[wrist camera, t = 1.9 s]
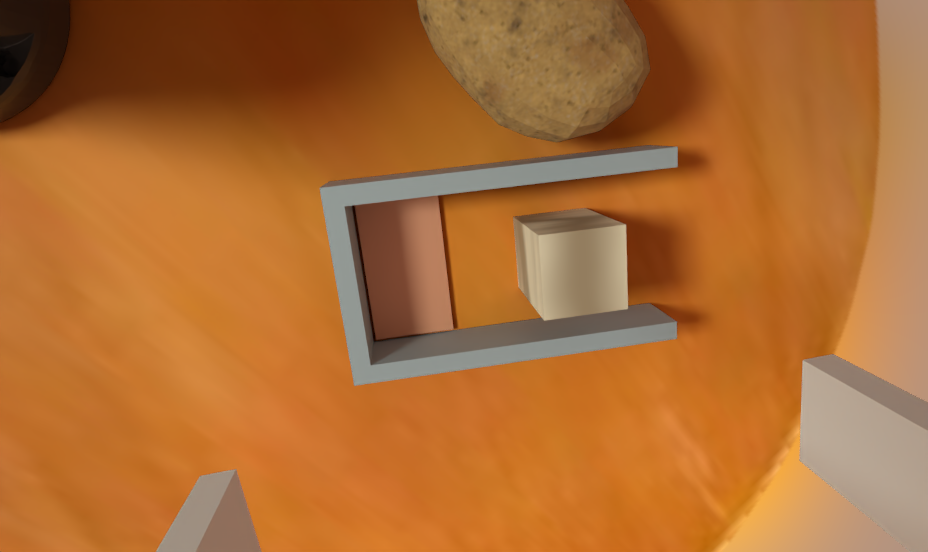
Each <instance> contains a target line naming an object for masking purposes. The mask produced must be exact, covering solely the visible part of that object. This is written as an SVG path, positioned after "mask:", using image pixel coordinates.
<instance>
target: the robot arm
mask: <svg viewBox="0 0 928 552" xmlns="http://www.w3.org/2000/svg"><path fill="white" fill-rule="evenodd" d="M69 25H70V6H69V0H0V122H2V121H4V120H7V119H9V118H11V117H13V116H15V115H16V114H18V113H19V112H21V111H23V110H24V109H25V108H27V107H28V106H29V105H31V104H32V103H33V102H34V101H35V100H36V99H37V98H38V97H39V96H40V95H41V94H42V93H43V92H44V91H45V89H46V88H47V87H48V85H49V84H50V83H51V81H52V79H53V78H54V76H55V74H56V72H57V71H58V69H59V66H60V64H61V62H62V59H63V56H64V53H65V50H66V45H67V41H68V35H69ZM800 461H801V462H802V463H803V464H804V465H805V466H807V467H808V468H809V469H810V470H812V471H813V472H814V473H815V474H817V475H818V476H819V477H820V478H821V479H822V480H824V481H825V482H826V483H827V484H829V485H830V486H831V487H832V488H833V489H835V490H836V491H837V492H838V493H839V494H841V495H842V496H843V497H844V498H846V499H847V500H848V501H849V502H850V503H852V504H853V505H854V506H855V507H857V508H858V509H859V510H860V511H861V512H863V513H864V514H865V515H866V516H867V517H869V518H870V519H871V520H872V521H873V522H875V523H876V524H877V525H878V526H880V527H881V528H882V529H883V530H884V531H886V532H887V533H888V534H889V535H891V536H892V537H893V538H894V539H895V540H897V541H898V542H899V543H900V544H901V545H903V546H904V547H905V548H906V549H907V550H909V551H910V552H928V403H927V402H926V401H924V400H922V399H920V398H918V397H916V396H914V395H912V394H910V393H908V392H906V391H904V390H902V389H900V388H898V387H896V386H894V385H892V384H890V383H889V382H887V381H884V380H882V379H881V378H879V377H877V376H875V375H873V374H871V373H869V372H867V371H865V370H863V369H861V368H859V367H857V366H855V365H853V364H851V363H850V362H848V361H846V360H844V359H842V358H840V357H838V356H836V355H834V354H831V355H826V356H821V357H816V358H811V359H805V360H803V368H802V399H801V430H800ZM156 552H261V549H260V546H259V542H258V539H257V536H256V533H255V529H254V526H253V523H252V520H251V516H250V513H249V510H248V507H247V503H246V500H245V497H244V493H243V490H242V487H241V484H240V480H239V477H238V474H237V471H236V469H234V470H229V471H224V472H219V473H213V474H208V475H203V476H200V477H199V479H198V481H197V482H196V484H195V486H194V487H193V489H192V491H191V493H190V494H189V496H188V498H187V499H186V501H185V503H184V505H183V506H182V508H181V510H180V511H179V513H178V515H177V517H176V518H175V520H174V522H173V523H172V525H171V527H170V529H169V530H168V532H167V534H166V535H165V537H164V539H163V541H162V542H161V544H160V546H159V547H158V549H157V551H156Z"/></svg>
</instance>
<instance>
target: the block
mask: <svg viewBox="0 0 928 552" xmlns="http://www.w3.org/2000/svg"><path fill="white" fill-rule="evenodd" d="M513 221H514V234H515V247H516V259H517V272H518V284H519V288H520V290H521V291H522V292H523V293H524V295H525V296H526V297H527V299H528V300H529V301H530V303H531V304H532V305H533V307H534V308H535V309H536V311H537V312H538V313H539V314H540V316H541V317H542V318H543V320H544V321H545V320H553V319H560V318H567V317H574V316H581V315H589V314H596V313H603V312H610V311H617V310H624V309H628V286H627V242H626V224H624V223H621V222H619V221H616V220H614V219H611V218H609V217H606V216H604V215H601V214H599V213H596V212H594V211H591V210H589V209H586V208H580V209H572V210H564V211H556V212H547V213H539V214H531V215H523V216H515V217H513Z"/></svg>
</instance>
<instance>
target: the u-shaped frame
mask: <svg viewBox="0 0 928 552" xmlns="http://www.w3.org/2000/svg"><path fill="white" fill-rule="evenodd" d="M674 167H678V147H673V146H653V145H646V146H637V147H628V148H619V149H611V150H602V151H593V152H584V153H576V154H567V155H558V156H549V157H541V158H532V159H523V160H514V161H505V162H497V163H488V164H479V165H470V166H462V167H453V168H444V169H435V170H427V171H418V172H409V173H400V174H392V175H383V176H374V177H365V178H357V179H348V180H339V181H330V182H328V183H326V184H325V185H323V186H322V187H320V193H321V199H322V204H323V210H324V216H325V221H326V227H327V233H328V238H329V244H330V250H331V256H332V261H333V267H334V273H335V278H336V284H337V290H338V295H339V301H340V307H341V312H342V318H343V324H344V329H345V335H346V341H347V346H348V352H349V358H350V364H351V369H352V375H353V381H354V386H355V385H362V384H369V383H376V382H383V381H390V380H396V379H403V378H410V377H417V376H424V375H431V374H438V373H444V372H451V371H458V370H465V369H472V368H479V367H486V366H493V365H499V364H506V363H513V362H520V361H527V360H534V359H541V358H547V357H554V356H561V355H568V354H575V353H582V352H589V351H595V350H602V349H609V348H616V347H623V346H630V345H637V344H643V343H650V342H657V341H664V340H671V339H677V321H675V320H674V319H672V318H671V317H669V316H668V315H666V314H665V313H663V312H662V311H661V310H659V309H658V308H656V307H655V306H653V305H652V304H650V303H646V304H639V305H631V306H628V309H624V310H617V311H610V312H603V313H596V314H589V315H581V316H574V317H567V318H560V319H553V320H545V321H544V320H543V318H538V319H531V320H524V321H517V322H509V323H502V324H495V325H488V326H481V327H474V328H466V329H459V330H452V331H445V332H438V333H431V334H423V335H416V336H409V337H402V338H395V339H387V338H394V337H401V336H408V335H415V334H422V333H430V332H437V331H444V330H451V329H453V320H452V312H451V303H450V295H449V286H448V278H447V269H446V260H445V252H444V243H443V235H442V226H441V218H440V209H439V200H438V195H445V194H454V193H462V192H471V191H479V190H488V189H496V188H505V187H513V186H522V185H530V184H538V183H547V182H555V181H564V180H572V179H581V178H589V177H598V176H606V175H615V174H623V173H631V172H640V171H648V170H657V169H665V168H674ZM352 205H355V211H356V217H357V224H358V230H359V236H360V242H361V249H362V255H363V261H364V268H365V274H366V280H367V286H368V293H369V299H370V305H371V311H372V318H373V324H374V330H375V336H376V340H379V339H387V340H380V341H374V339H373V333H372V327H371V321H370V315H369V308H368V302H367V296H366V290H365V284H364V277H363V271H362V265H361V259H360V253H359V246H358V240H357V234H356V228H355V222H354V215H353V209H352Z"/></svg>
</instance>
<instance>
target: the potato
mask: <svg viewBox="0 0 928 552" xmlns="http://www.w3.org/2000/svg"><path fill="white" fill-rule="evenodd" d="M417 4H418V9H419V15H420V20H421V22H422V24H423V27H424V29H425V31H426V33H427V36H428V38H429V40H430V42H431V45H432V47H433V49H434V51H435V53H436V54H437V56H438V57H439V58H440V60H441V61H442V62H443V64H444V65H445V66H446V68H447V69H448V71H449V72H450V73H451V75H452V76H453V77H454V78H455V79H456V80H457V82H458V83H459V84H460V85H461V86H462V87H463V88H464V89H465V91H466V92H467V93H468V94H469V95H470V96H471V97H472V98H473V99H474V100H475V101H476V102H477V103H478V104H479V105H480V106H481V107H482V108H483V109H484V110H485V111H486V112H487V113H488V114H489V115H490V116H491V117H492V118H493V119H494V120H495V121H496V122H497V123H498V124H499V125H501V126H504V127H506V128H508V129H511V130H513V131H515V132H518V133H520V134H523V135H525V136H528V137H533V138H538V139H543V140H548V141H553V142H560V141H564V140H568V139H571V138H575V137H579V136H582V135H586V134H590V133H594V132H597V131H600V130H601V129H603V128H604V127H605V126H607V125H608V124H610V123H611V122H612V121H614V120H615V119H616V118H618V117H619V116H620V115H622V114H623V113H624V112H626V111H627V110H628V109H630V108H631V106H632V105H633V103H634V101H635V99H636V97H637V95H638V93H639V91H640V89H641V87H642V85H643V83H644V81H645V79H646V77H647V75H648V73H649V71H650V63H649V57H648V51H647V45H646V39H645V35H644V33H643V32H642V30H641V28H640V26H639V25H638V23H637V21H636V19H635V18H634V16H633V14H632V12H631V11H630V9H629V7H628V6H627V4H626V3H625V1H624V0H417Z"/></svg>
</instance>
